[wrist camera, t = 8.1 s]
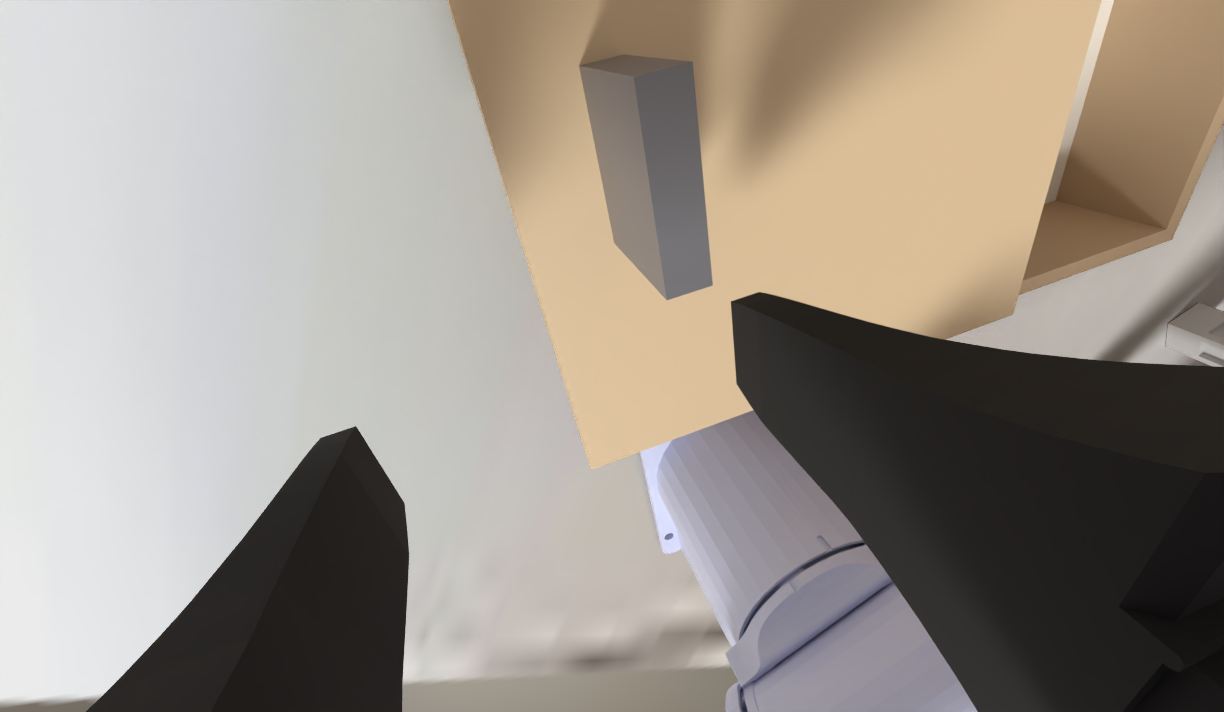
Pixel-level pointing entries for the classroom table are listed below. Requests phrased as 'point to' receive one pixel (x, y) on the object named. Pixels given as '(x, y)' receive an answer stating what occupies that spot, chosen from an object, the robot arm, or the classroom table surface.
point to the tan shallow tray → (1132, 135)
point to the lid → (763, 175)
